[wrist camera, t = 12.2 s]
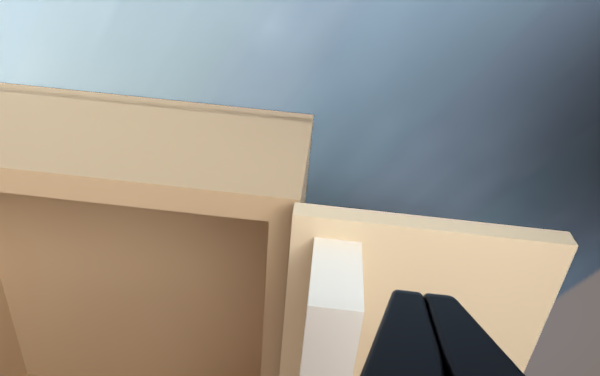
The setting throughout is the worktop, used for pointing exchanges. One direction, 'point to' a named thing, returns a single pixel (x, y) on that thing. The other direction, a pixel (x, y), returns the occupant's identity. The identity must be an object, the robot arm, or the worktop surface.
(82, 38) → the worktop surface
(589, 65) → the worktop surface
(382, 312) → the inner lid
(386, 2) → the worktop surface
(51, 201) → the carton
